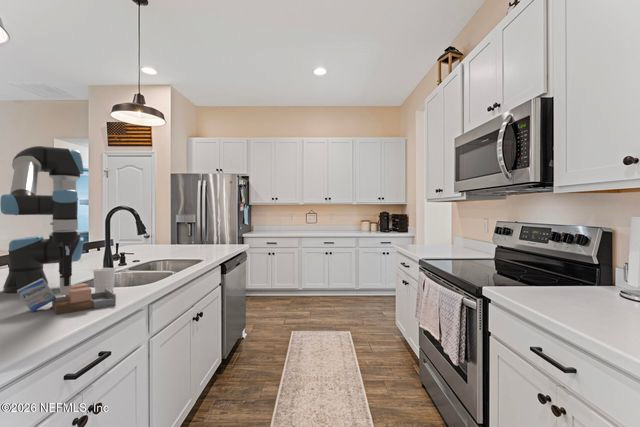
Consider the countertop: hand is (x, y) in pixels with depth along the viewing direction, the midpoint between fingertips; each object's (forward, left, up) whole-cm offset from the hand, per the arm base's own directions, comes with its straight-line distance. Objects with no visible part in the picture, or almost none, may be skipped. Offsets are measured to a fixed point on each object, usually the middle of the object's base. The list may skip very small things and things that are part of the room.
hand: (65, 293), depth 124 cm
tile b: (+8, +3, -2) cm, 9 cm away
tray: (+4, +10, -5) cm, 12 cm away
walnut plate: (+4, +2, -5) cm, 7 cm away
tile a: (-1, +4, -2) cm, 4 cm away
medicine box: (0, -6, -3) cm, 7 cm away
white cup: (-14, +15, -5) cm, 21 cm away
